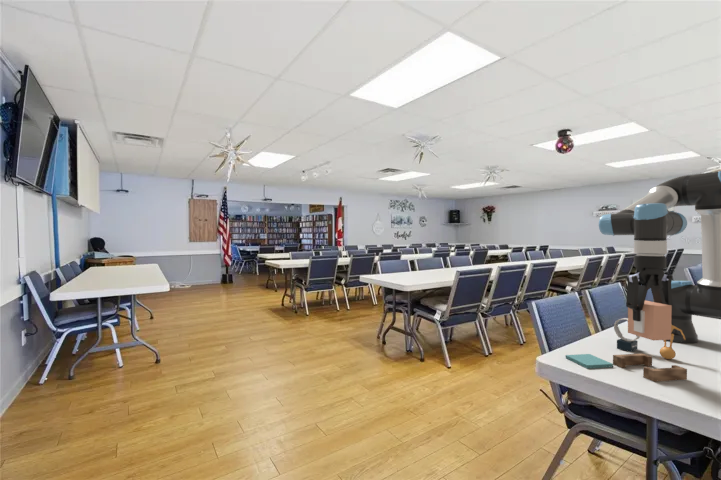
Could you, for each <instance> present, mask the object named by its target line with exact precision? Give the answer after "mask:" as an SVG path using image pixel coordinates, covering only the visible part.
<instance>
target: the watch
mask: <svg viewBox="0 0 721 480" xmlns="http://www.w3.org/2000/svg"><path fill="white" fill-rule="evenodd" d="M623 320H624V321H627V322H628V317H623V318H620V319H617V320H615V322H614V324H613V331H614V332H615V334H616V336H617V337H618V339H616V350H622V351H626V352H628V353H629V352H630V353H632V352H634V351H637V350H638V342H639V341H638V340H639V339H640V338H641V337H640V336H637V335H635V336H636V338H634V339H632V338H626V337H625V336H623V335H624V334H623V333H622V332H621V330H620V327H619V325H618V324H619V323H620V321H623Z"/></svg>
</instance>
